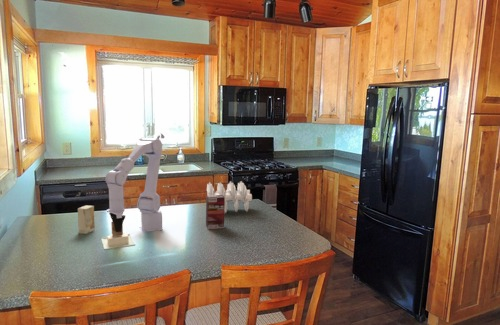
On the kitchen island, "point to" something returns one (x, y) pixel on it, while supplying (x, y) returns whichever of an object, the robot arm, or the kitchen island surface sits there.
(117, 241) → the base brick
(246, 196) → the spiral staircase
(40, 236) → the kitchen island surface
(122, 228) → the walnut brick
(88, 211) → the skincare box
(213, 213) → the supplement box
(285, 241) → the kitchen island surface
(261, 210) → the kitchen island surface
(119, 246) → the plate
